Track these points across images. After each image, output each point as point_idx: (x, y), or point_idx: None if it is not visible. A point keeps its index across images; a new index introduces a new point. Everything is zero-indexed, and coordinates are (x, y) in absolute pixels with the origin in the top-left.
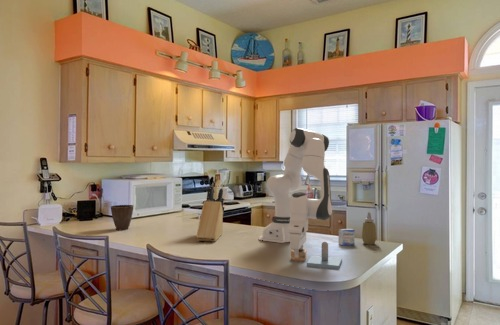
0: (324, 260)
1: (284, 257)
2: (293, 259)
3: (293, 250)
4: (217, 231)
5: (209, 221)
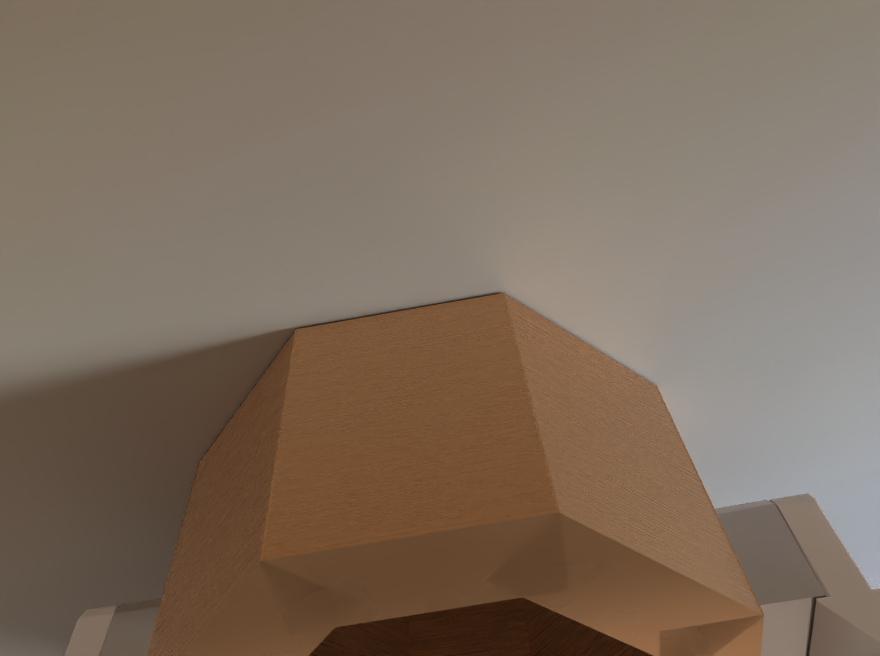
0: None
1: (367, 20)
2: (220, 443)
3: (355, 617)
4: None
5: None
